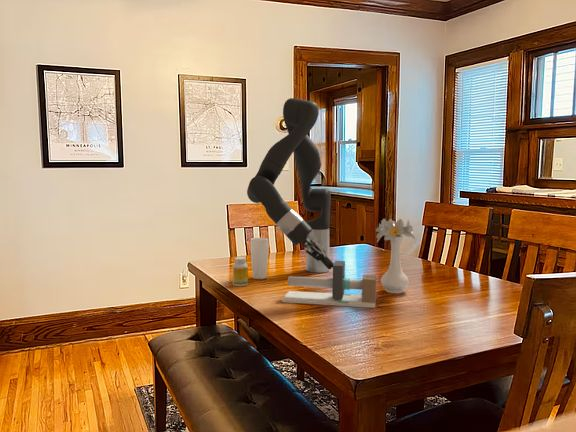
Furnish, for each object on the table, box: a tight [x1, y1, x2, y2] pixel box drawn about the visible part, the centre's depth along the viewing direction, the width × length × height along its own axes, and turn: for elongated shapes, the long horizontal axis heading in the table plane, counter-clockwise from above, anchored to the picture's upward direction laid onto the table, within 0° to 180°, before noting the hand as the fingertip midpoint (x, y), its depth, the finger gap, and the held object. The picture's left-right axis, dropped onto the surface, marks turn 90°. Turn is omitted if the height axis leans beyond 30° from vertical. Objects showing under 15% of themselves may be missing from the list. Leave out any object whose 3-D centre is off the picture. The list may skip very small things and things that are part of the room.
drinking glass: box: [249, 237, 270, 280], centre depth 187 cm, size 7×7×15 cm
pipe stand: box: [281, 274, 377, 309], centre depth 157 cm, size 28×11×8 cm, turn 79°
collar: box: [331, 260, 346, 299], centre depth 156 cm, size 3×8×10 cm, turn 169°
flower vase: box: [375, 218, 417, 294], centre depth 168 cm, size 13×18×25 cm
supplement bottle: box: [232, 256, 249, 287], centre depth 177 cm, size 5×5×10 cm
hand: (332, 267), depth 156 cm, fingers closed
